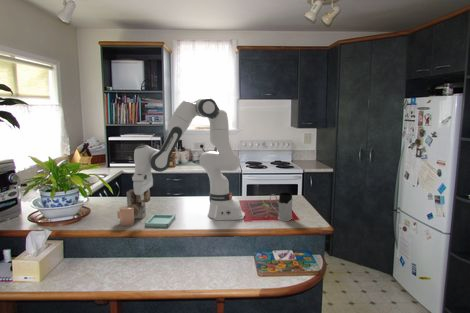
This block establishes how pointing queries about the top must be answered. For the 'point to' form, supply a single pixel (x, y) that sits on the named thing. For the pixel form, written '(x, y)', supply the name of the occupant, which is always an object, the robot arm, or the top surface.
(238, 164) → the robot arm
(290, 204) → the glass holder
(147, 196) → the walnut block
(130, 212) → the tan ball with tab
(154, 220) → the tray
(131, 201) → the coffee box
